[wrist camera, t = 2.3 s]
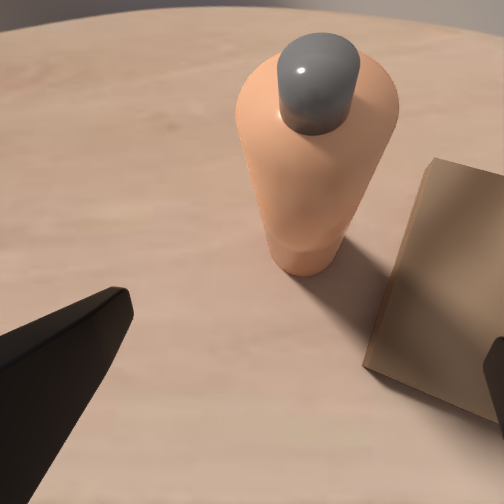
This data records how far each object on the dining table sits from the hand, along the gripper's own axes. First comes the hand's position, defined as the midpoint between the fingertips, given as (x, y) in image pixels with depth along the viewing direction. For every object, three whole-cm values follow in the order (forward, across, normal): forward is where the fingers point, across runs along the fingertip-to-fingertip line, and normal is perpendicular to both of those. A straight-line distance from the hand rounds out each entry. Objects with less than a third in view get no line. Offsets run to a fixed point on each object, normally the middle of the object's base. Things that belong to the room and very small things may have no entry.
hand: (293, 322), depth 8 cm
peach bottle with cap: (+13, 0, +5) cm, 14 cm away
